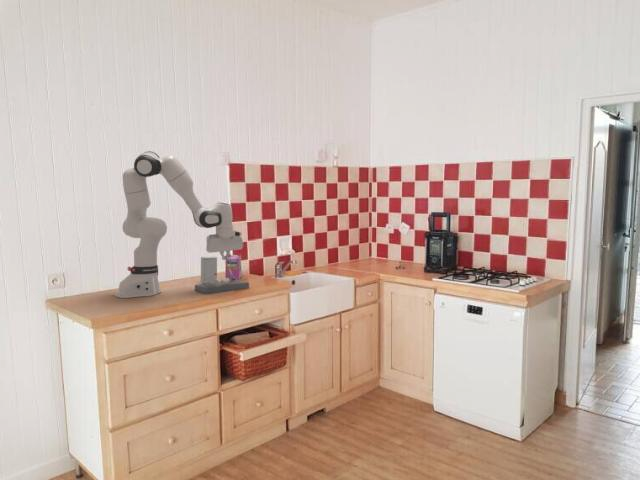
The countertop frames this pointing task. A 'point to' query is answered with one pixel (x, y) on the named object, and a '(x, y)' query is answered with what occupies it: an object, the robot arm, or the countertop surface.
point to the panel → (221, 286)
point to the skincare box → (208, 269)
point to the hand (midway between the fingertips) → (225, 259)
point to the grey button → (211, 282)
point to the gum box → (233, 266)
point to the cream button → (224, 280)
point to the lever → (230, 271)
